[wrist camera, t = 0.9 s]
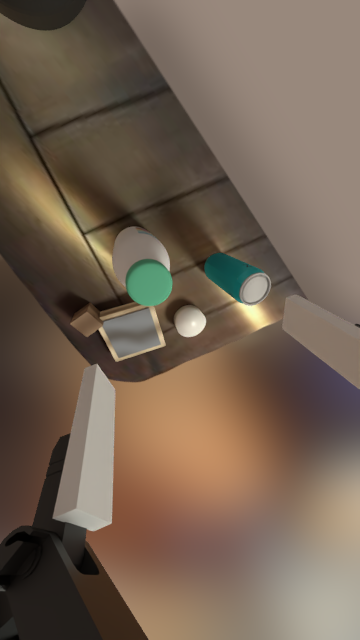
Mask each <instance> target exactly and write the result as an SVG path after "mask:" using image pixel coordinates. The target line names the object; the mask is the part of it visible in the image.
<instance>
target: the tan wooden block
mask: <svg viewBox="0 0 360 640" xmlns="http://www.w3.org/2000/svg"><path fill="white" fill-rule="evenodd" d="M99 315H100V311H99V310H98V309H97V308H96V307H95V306H94V305H92V304H91V303H89V304H87V305H86V306H84V307H83V308H82V309H80V310H79V311H77V312H76V313H74V316H73V318H72V320H71V322H70V324H71V325H72V326H73V327H75V328H76V329H77V330H78V331H80V332H81V333H82V334H83V335H85V336H86V337H88V336H89V335H91V334H92V333H94V332H95V331H96V330H98V329H99V328H101V327H102V326H103V324H104V322H103V321H102V320H101V319H100V318H99Z"/></svg>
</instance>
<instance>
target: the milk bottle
mask: <svg viewBox="0 0 360 640" xmlns="http://www.w3.org/2000/svg"><path fill="white" fill-rule="evenodd" d="M112 263H113V269H114V272H115V274H116V276H117V278H118V279H119V281H120V282H121V283H122V284H123V285H124V286H125V287H126V289H127V292H128V294H129V296H130V297H131V298H132V299H133V300H134V301H135V302H137V303H138V304H140V305H144V306H155V305H158V304H160V303H162V302H163V301H165V300H166V299H167V297H168V296H169V294H170V292H171V290H172V277H171V274H170V272H169V269H170V261H169V257H168V254H167V251H166V249H165V248H164V246H163V245H162V244H161V242H160V241H159V240H158V239H157V238H156V237H154V236H153V235H152V234H151V233H150V232H148V231H147V230H145V229H143V228H141V227H128V228H126V229H124V230H122V231H121V232H120V233H119V234H118V236H117V238H116V240H115V243H114V248H113V256H112Z"/></svg>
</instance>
